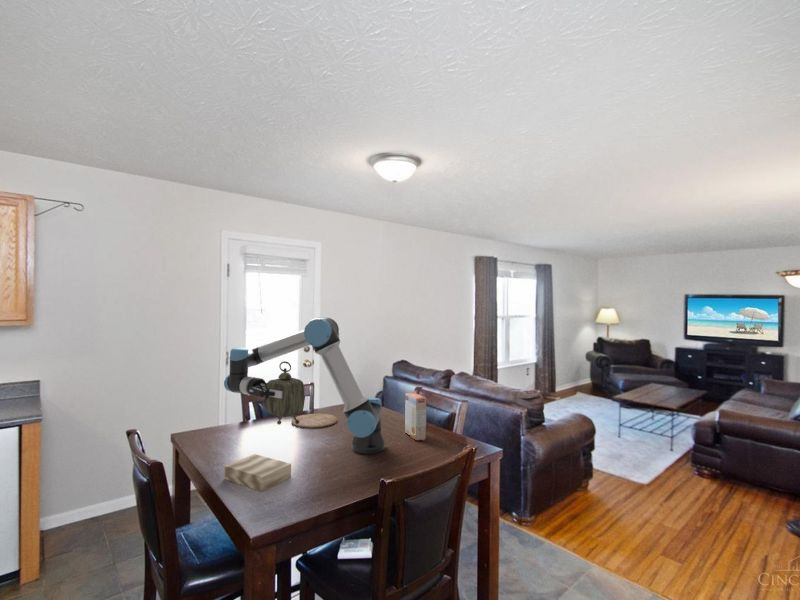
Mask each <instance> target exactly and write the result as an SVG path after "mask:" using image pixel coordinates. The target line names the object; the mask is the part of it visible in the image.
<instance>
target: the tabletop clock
mask: <svg viewBox="0 0 800 600" xmlns="http://www.w3.org/2000/svg"><path fill="white" fill-rule="evenodd" d="M282 364H287V365H288V366H289V369H287V368H285V367H284V368H283V369H282V367H281V366H282ZM279 370H280V371H281V372H282V373H280V374H279V375H278V378H275V379H270V380H269V381H267V382H266V383H267V384H266V387H265V388H267V389H268V390H270V389H272V390H278V391H283V393H282V398H275V397H270V396H269V397H268V398H265V397H264V409H265V411H266V413H268V414H270V415H273V416H276V417H277V419H278V420H277V422H276V424H277V425H278V426H279V425H281V424H282V421H281V420H282V418H287V417H292V419H293V418H294V419H295V423H296V424H298V423H299V420H297V419H296V417H297V416H296V415H298V414H299V415H300V414H302V413H303V410H304V407H305V386H304V382H303V381H302V380H301V379H299V378H296V377H292V375H291V373H289V372H290V371H291V370H292V366H291V363H290V362H288V361H281V362H280V363H279Z"/></svg>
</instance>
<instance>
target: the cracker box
mask: <svg viewBox="0 0 800 600" xmlns="http://www.w3.org/2000/svg"><path fill="white" fill-rule="evenodd" d="M404 395H405V399H404V401H405V403H404V404H405V405H404V407H405V408H404V411H405V415H404V421H405V422H404V434H405V433H407V434H408V435H410V436H411V437H412V438H414V439H415V440H419V439H426V440H427V397H425V396H423V395H420V394H418V393H417V392H406V393H405V394H404ZM407 434H406V435H407ZM408 435H407V436H408ZM411 437H410V438H411ZM412 438H411V439H412ZM414 439H413V440H414ZM415 440H414V441H415Z"/></svg>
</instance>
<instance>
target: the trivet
mask: <svg viewBox="0 0 800 600" xmlns="http://www.w3.org/2000/svg"><path fill="white" fill-rule="evenodd" d="M295 417H296V419H297V420H299V423H298V424H296V423H295V419H294V418H293V417H292V420H291V426H293V427H294V426H296V427H295V428H298V427H300V428H299V429H304V428H317V429H322V428H321V427H324V428H328V427H327V426H329V427H331V426H330V425H332V426H334V425H335V424H337V422H338V421H337V420H338V418H337V417H336V416H335V415H333V414H329V413H309V414H301V415H297V416H295ZM333 424H334V425H333Z"/></svg>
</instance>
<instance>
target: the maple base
mask: <svg viewBox="0 0 800 600" xmlns="http://www.w3.org/2000/svg"><path fill="white" fill-rule="evenodd" d="M223 469H224V470H223V471H224V475H223V476H224V477H223V479H224V480H225V479H227V480H226V481H228V480H230V481H229V482H231V481H233V482H232V483H234V482H236V483H235V484H237V483H238V485H240V484H241V485H240V486H243V485H244V487H246V486H247V487H246V488H249V487H250V489H252V488H253V489H252V490H255V489H256V490H257V491H259V492H263V491H266V490H268V489H270V488H272V487H274V486H276V485H278V484H280V483H282V482H284V481H286V480H288V479H290V478H291V477H292V463H290V462H286V461H281V460H278V459H275V458H274V459H273V458H271V457H267V456H263V455H260V454H256V453H254V454H251V455H249V456H246V457H243V458H240V459H239V460H235V461H234V462H231V463H227V464H226V465H224V468H223ZM256 490H255V491H256Z"/></svg>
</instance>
